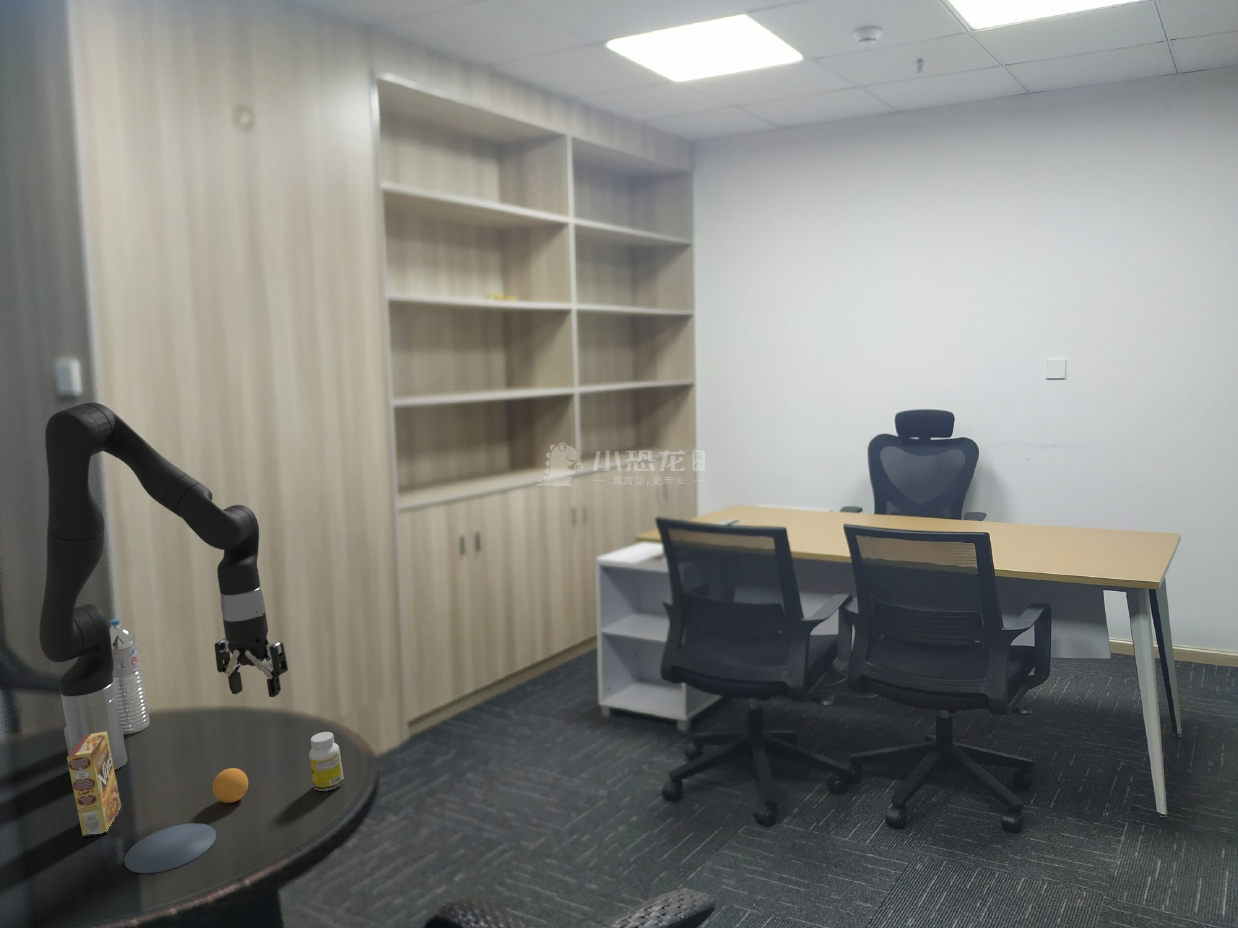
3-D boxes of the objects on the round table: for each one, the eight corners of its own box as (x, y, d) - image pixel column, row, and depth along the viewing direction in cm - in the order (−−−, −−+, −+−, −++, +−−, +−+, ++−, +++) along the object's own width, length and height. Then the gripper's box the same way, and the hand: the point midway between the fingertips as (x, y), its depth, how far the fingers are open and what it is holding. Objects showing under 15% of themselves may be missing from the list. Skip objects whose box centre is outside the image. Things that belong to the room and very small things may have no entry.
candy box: (107, 834, 160) (92, 752, 157) (81, 838, 159) (65, 756, 157) (122, 808, 169) (108, 730, 166) (97, 812, 168) (82, 734, 165)
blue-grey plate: (104, 867, 150) (104, 866, 150) (169, 820, 163) (169, 819, 163) (173, 877, 146) (173, 876, 146) (234, 828, 159) (234, 827, 159)
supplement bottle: (317, 779, 174) (310, 731, 172) (346, 776, 174) (340, 728, 172) (310, 794, 168) (303, 744, 167) (340, 791, 169) (334, 741, 167)
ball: (207, 807, 166) (202, 776, 165) (230, 790, 172) (226, 760, 171) (235, 810, 165) (230, 779, 164) (257, 793, 170) (252, 763, 169)
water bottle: (136, 736, 199) (116, 625, 194) (108, 735, 200) (89, 625, 196) (157, 721, 205) (139, 614, 201) (131, 721, 207) (112, 614, 202)
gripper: (198, 618, 171) (211, 700, 173) (262, 620, 166) (274, 705, 169) (226, 604, 178) (238, 683, 180) (288, 607, 173) (300, 688, 176)
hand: (256, 694), depth 175 cm, fingers open, 8 cm apart
